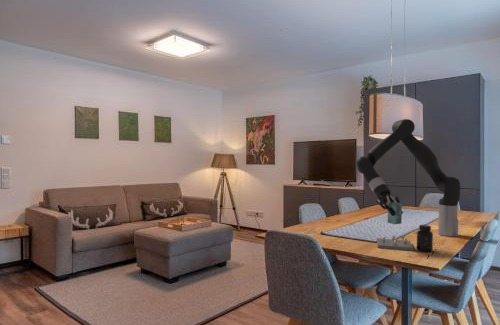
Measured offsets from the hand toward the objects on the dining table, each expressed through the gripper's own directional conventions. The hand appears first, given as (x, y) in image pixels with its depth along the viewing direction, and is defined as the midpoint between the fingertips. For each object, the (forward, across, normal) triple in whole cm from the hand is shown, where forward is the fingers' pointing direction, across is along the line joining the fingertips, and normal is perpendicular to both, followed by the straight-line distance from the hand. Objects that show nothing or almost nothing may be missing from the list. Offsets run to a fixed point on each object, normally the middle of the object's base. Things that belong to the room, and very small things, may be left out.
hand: (397, 214), depth 170 cm
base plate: (+10, 0, +13) cm, 16 cm away
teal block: (+2, 0, +5) cm, 5 cm away
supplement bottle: (+19, +6, +4) cm, 20 cm away
